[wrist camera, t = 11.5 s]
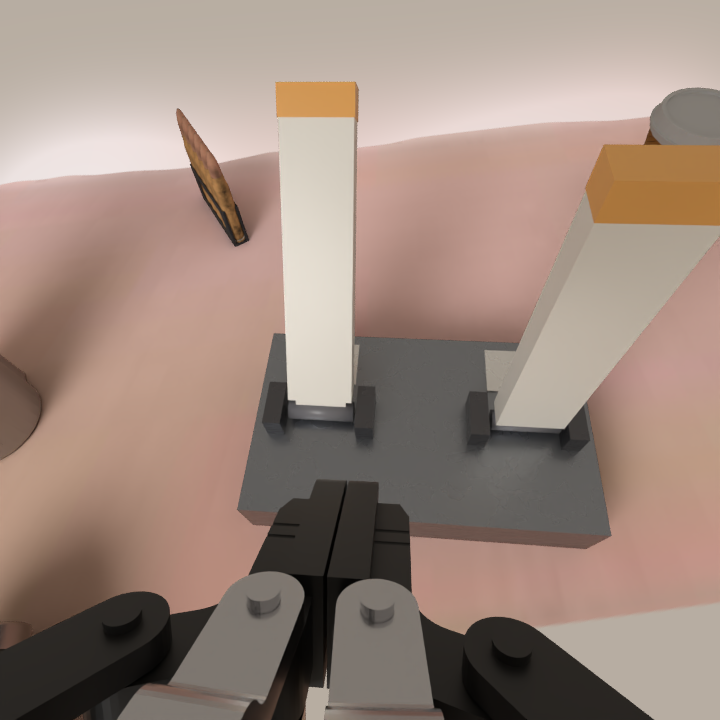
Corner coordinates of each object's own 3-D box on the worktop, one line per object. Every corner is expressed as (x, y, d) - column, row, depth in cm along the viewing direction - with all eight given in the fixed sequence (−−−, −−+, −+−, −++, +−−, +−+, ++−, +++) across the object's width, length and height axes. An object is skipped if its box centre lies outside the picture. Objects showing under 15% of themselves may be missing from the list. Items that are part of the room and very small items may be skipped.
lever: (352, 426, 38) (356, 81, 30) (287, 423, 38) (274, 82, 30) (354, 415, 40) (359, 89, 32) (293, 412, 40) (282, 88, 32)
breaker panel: (585, 548, 38) (624, 529, 32) (252, 524, 40) (229, 501, 34) (558, 373, 46) (585, 331, 40) (283, 361, 48) (268, 319, 42)
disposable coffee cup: (710, 228, 55) (785, 132, 45) (633, 243, 54) (690, 149, 44) (666, 176, 60) (724, 78, 50) (594, 189, 59) (638, 93, 49)
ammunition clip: (202, 197, 62) (166, 107, 52) (215, 191, 62) (182, 101, 52) (235, 247, 57) (202, 159, 47) (249, 241, 57) (219, 152, 47)
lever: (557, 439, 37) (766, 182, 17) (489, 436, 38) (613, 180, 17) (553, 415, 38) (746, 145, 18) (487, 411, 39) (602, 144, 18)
